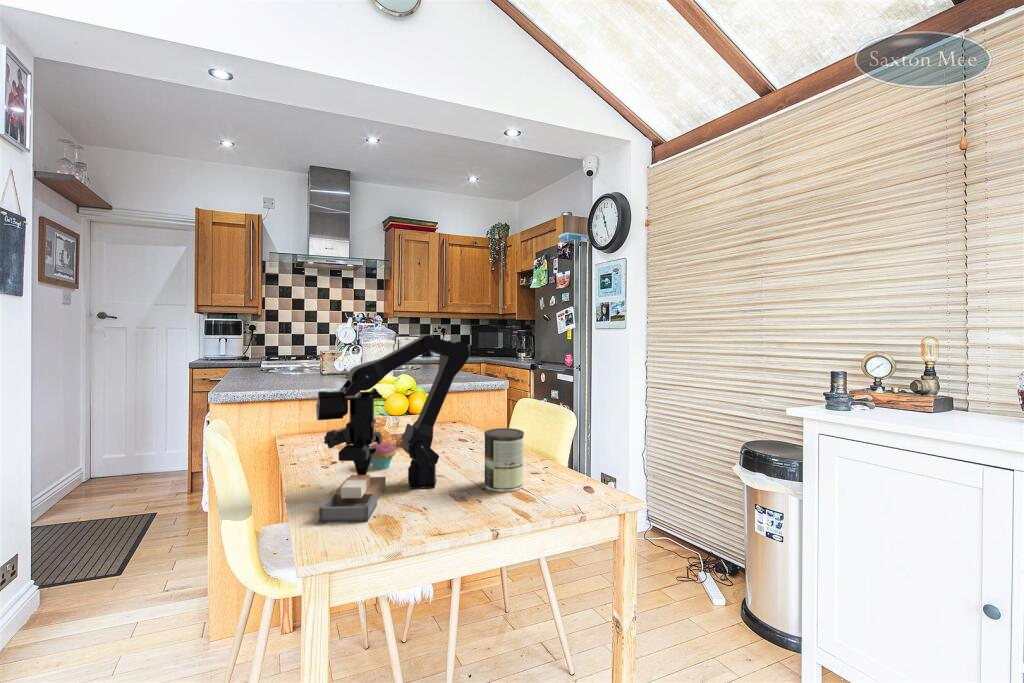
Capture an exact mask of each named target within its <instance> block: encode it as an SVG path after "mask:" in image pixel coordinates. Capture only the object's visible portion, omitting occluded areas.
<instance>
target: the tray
mask: <svg viewBox="0 0 1024 683" xmlns="http://www.w3.org/2000/svg"><path fill="white" fill-rule="evenodd" d="M377 506H378V501H377V492H373V494H372V495H371V497H370V499H369V500H368V502H367V503H336V493H335V492H331V494H330V495H329V497H328V498H327V499H326V500H325V501H324V502H323V503H322V504H321V505H320V507H319V508H318V523H320V524H321V523H322V524H324V523H325V524H326V523H329V524H330V523H359V522H360V523H364V522H369V520H370V518H371V517H372V515H373V513H374V512H375V510H376V508H377Z"/></svg>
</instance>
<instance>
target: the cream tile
mask: <svg viewBox="0 0 1024 683" xmlns="http://www.w3.org/2000/svg"><path fill="white" fill-rule="evenodd" d="M345 480H346V479H345ZM343 483H344V482H343ZM343 483H342V484H343ZM342 484H341V485H342ZM365 492H366V480H346V482H345V483H344V484H343V485H342V487H341V498H362V496H363V495H364V493H365Z"/></svg>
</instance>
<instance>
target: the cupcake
mask: <svg viewBox="0 0 1024 683" xmlns="http://www.w3.org/2000/svg"><path fill="white" fill-rule="evenodd" d="M374 432H378V428H377V426H375V425H374ZM370 446H371V448H376V449H377V451H376V453H375V455H374V457H373V460H372V462H371V467H372V469H375V470H386V469H388V468H390V466H391V465H390V464H391V462H392V460H393V457H394V456H395V455H396V454H397V449H396V446H394V445H393V444H391V443H389V442H382V443H381V444H377V442H374V444H373V443H372V444H371V445H370Z"/></svg>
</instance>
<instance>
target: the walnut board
mask: <svg viewBox="0 0 1024 683" xmlns="http://www.w3.org/2000/svg"><path fill="white" fill-rule="evenodd" d="M349 477H350V476H349ZM349 477H347V478H345V480H344V482H343V483H342V484H341V485H339V487H338V488H337V490H336V491H335V492H334V493H336V503H367V502H368V500H369V499H370V497H371V495H372V494H373V492H377V502H378V500H379V499H380V497H381V495H382V494H383V492H384V490H385V488H386V481H387V480H386V479H387V478H386V476H370V486H369V487H368V488H367V490H366V492H365V493H364V495H363V496H362V498H341V487H342V485H343V484H344V483H345V482H346V480H347V479H348V478H349Z"/></svg>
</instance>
